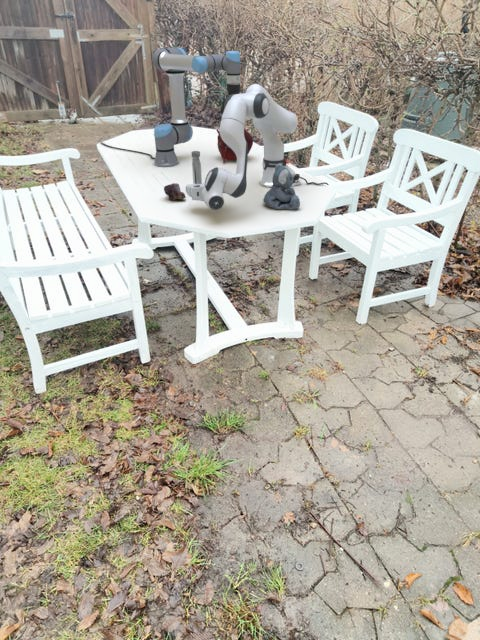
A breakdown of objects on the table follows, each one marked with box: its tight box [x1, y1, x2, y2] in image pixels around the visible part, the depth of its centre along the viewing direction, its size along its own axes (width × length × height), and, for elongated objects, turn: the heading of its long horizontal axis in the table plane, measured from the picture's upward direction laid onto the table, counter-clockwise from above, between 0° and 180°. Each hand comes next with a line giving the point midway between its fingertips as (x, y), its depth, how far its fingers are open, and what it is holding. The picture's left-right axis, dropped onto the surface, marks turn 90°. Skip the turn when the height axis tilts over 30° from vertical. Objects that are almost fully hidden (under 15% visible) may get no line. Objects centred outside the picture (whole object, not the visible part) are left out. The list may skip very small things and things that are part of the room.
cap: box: [190, 150, 201, 158], centre depth 239 cm, size 5×4×2 cm
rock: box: [163, 182, 187, 201], centre depth 236 cm, size 12×9×10 cm
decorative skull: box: [216, 128, 254, 164], centre depth 298 cm, size 21×24×25 cm
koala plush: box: [262, 164, 301, 211], centre depth 224 cm, size 17×18×20 cm
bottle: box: [191, 157, 203, 184], centre depth 244 cm, size 5×5×20 cm
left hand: (234, 125), depth 259 cm, fingers open, 13 cm apart
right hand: (203, 183), depth 227 cm, fingers open, 8 cm apart
